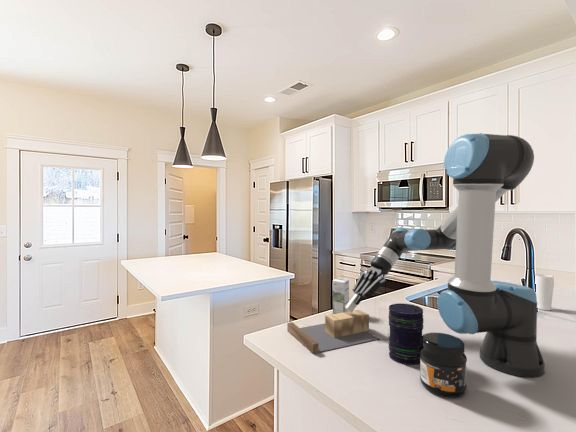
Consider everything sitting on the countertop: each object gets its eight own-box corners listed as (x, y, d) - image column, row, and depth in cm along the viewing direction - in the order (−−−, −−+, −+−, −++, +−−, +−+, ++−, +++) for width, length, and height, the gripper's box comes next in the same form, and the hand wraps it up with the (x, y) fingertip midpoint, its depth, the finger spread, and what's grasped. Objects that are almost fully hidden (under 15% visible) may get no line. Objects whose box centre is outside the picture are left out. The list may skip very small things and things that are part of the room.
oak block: (358, 309, 117) (325, 315, 111) (368, 314, 112) (334, 320, 106) (359, 325, 117) (325, 331, 111) (369, 330, 112) (334, 337, 106)
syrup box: (349, 311, 134) (349, 278, 134) (344, 315, 129) (344, 281, 129) (337, 309, 137) (337, 277, 137) (332, 313, 132) (332, 280, 132)
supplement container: (414, 388, 76) (414, 340, 76) (426, 371, 84) (426, 328, 84) (461, 405, 69) (461, 353, 69) (470, 385, 77) (470, 338, 77)
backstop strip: (292, 330, 114) (292, 322, 114) (318, 352, 96) (318, 343, 96) (287, 330, 113) (287, 322, 113) (313, 354, 95) (312, 344, 95)
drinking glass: (557, 311, 132) (558, 277, 132) (542, 311, 132) (542, 277, 132) (544, 306, 139) (545, 273, 138) (529, 306, 139) (530, 273, 139)
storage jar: (382, 357, 92) (382, 308, 92) (396, 346, 99) (396, 301, 99) (416, 369, 85) (416, 316, 85) (428, 356, 92) (428, 307, 92)
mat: (346, 320, 123) (346, 319, 123) (379, 339, 105) (379, 338, 105) (292, 330, 114) (292, 329, 114) (318, 352, 96) (318, 351, 96)
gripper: (401, 270, 113) (365, 321, 107) (378, 265, 125) (344, 310, 119) (390, 257, 111) (352, 309, 105) (367, 252, 123) (332, 299, 117)
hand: (348, 309), depth 112 cm, fingers closed
